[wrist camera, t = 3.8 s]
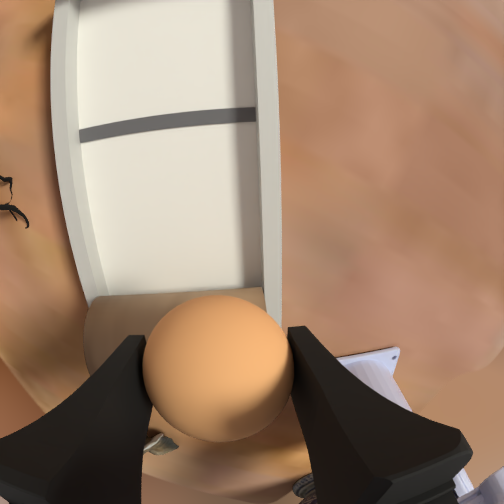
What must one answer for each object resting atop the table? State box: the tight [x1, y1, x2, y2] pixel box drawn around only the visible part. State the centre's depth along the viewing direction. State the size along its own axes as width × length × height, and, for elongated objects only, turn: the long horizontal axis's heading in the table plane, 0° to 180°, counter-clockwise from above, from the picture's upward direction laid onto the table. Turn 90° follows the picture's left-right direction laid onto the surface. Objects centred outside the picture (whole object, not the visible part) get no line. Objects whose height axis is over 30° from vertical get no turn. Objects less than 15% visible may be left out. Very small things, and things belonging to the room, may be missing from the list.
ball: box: [142, 295, 294, 442], centre depth 10 cm, size 5×5×5 cm
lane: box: [51, 0, 282, 328], centre depth 15 cm, size 26×12×4 cm, turn 2°
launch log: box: [83, 287, 267, 376], centre depth 17 cm, size 6×10×6 cm, turn 92°
